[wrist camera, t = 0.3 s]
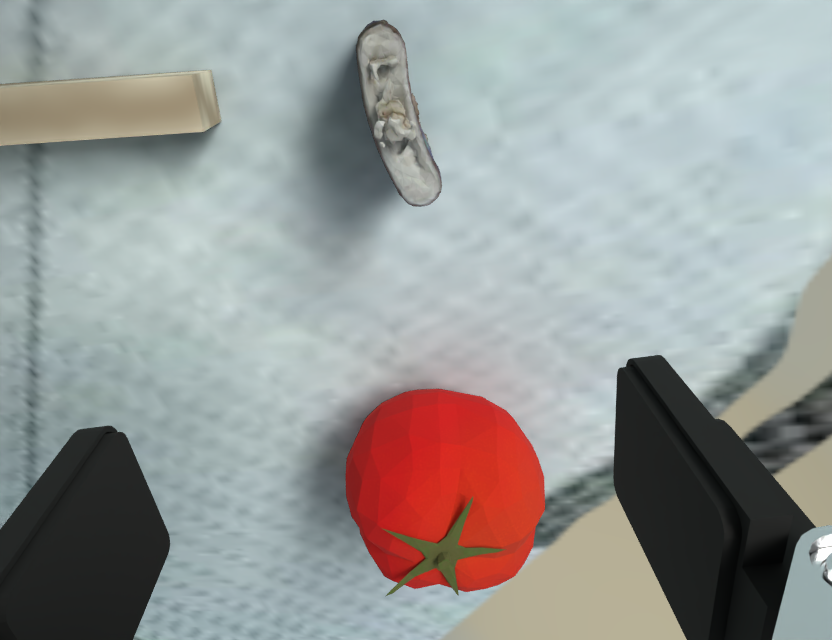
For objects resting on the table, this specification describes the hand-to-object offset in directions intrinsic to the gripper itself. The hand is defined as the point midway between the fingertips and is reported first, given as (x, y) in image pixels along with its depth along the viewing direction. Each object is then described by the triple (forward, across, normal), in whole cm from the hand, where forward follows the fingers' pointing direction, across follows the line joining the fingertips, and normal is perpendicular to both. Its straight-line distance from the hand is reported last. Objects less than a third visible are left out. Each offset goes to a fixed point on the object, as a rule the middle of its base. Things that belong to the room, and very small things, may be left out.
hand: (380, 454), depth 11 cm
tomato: (+31, -1, +23) cm, 39 cm away
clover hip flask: (+31, -1, -3) cm, 31 cm away
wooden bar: (+31, +21, -5) cm, 37 cm away
